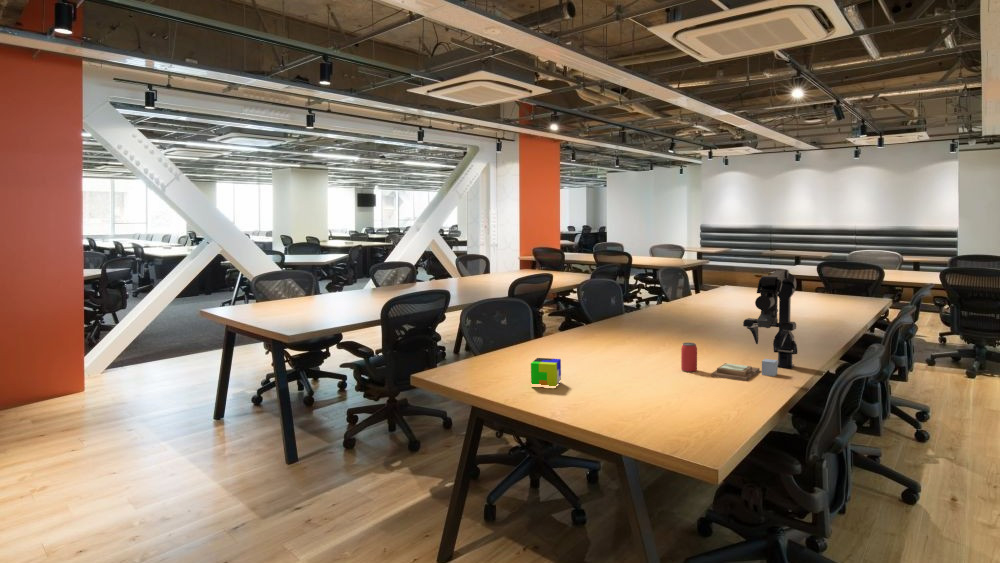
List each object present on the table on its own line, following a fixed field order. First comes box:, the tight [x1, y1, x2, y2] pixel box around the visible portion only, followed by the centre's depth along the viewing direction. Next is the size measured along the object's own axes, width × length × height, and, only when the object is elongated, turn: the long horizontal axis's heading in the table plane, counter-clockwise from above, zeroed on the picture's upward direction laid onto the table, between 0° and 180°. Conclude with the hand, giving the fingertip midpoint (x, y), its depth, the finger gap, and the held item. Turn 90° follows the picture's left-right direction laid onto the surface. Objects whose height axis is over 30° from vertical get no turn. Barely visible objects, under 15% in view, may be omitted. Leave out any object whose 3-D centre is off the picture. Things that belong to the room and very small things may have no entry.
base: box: [710, 363, 760, 382], centre depth 243 cm, size 20×14×3 cm
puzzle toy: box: [530, 357, 562, 386], centre depth 233 cm, size 10×10×10 cm
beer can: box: [680, 342, 698, 373], centre depth 250 cm, size 7×7×12 cm
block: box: [761, 358, 779, 377], centre depth 240 cm, size 5×5×6 cm
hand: (768, 345), depth 230 cm, fingers open, 9 cm apart
